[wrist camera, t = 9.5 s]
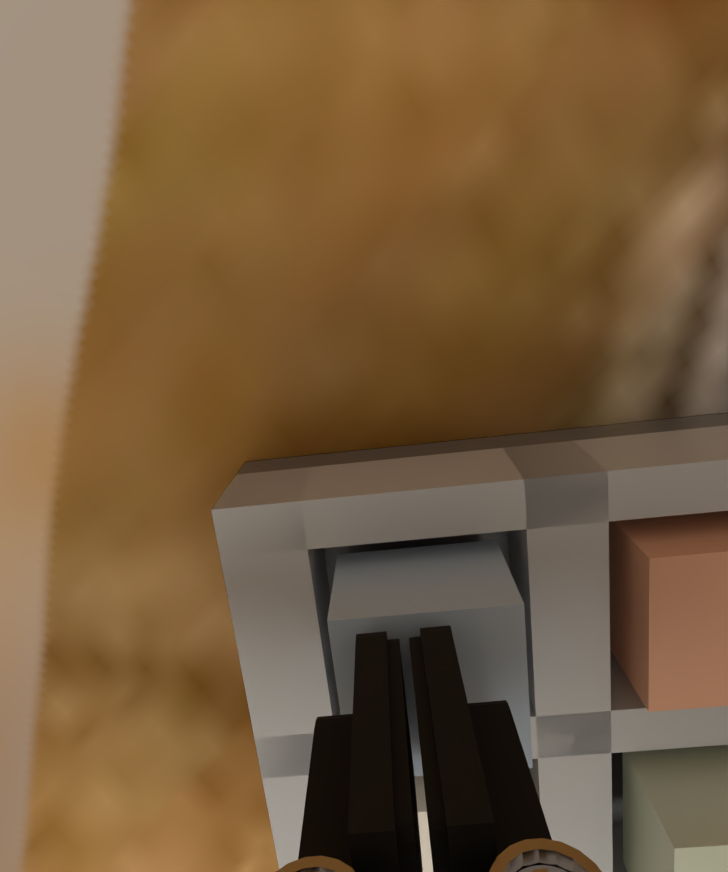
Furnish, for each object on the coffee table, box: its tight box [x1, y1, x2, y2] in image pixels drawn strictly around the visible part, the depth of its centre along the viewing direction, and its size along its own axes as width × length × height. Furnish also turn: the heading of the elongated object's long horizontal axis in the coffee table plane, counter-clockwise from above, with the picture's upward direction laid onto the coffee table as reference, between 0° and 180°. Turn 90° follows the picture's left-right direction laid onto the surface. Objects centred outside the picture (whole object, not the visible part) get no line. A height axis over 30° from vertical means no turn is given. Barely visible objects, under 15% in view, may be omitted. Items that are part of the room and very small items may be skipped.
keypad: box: [211, 413, 728, 872], centre depth 15 cm, size 14×12×3 cm
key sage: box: [622, 745, 728, 872], centre depth 13 cm, size 3×3×3 cm
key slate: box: [327, 540, 533, 776], centre depth 12 cm, size 3×3×3 cm
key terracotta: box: [609, 511, 728, 712], centre depth 13 cm, size 3×3×3 cm
